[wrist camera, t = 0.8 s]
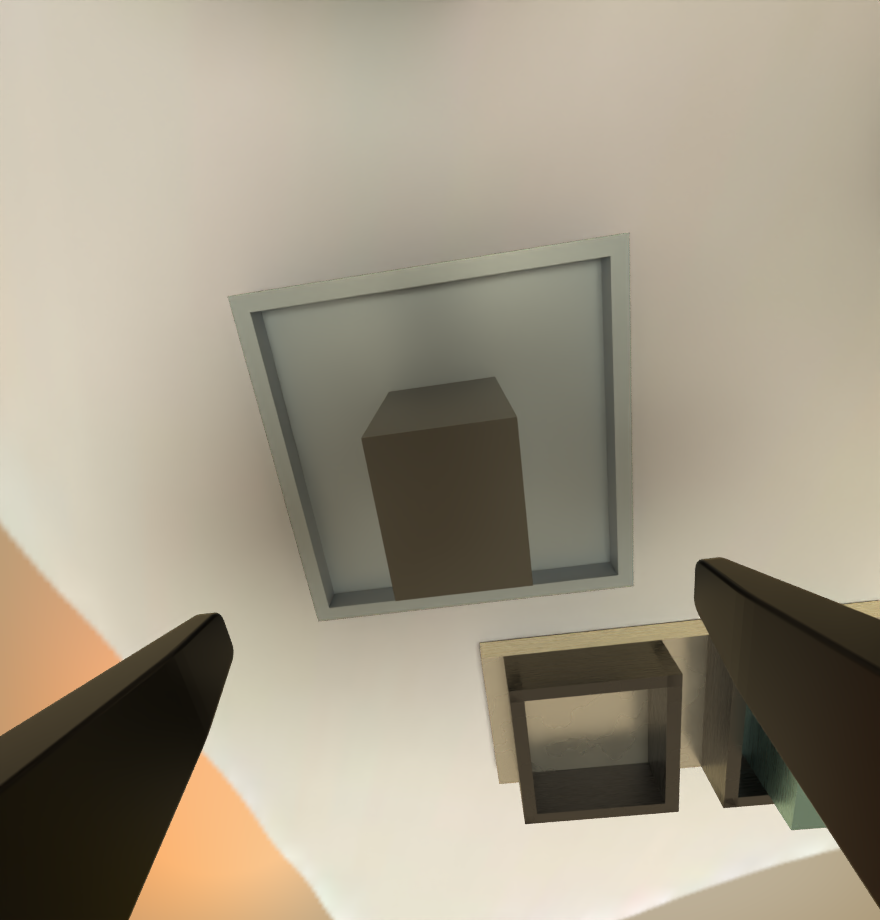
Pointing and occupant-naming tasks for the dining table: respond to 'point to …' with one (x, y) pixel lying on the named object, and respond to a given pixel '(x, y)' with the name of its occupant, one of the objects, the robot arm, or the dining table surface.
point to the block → (449, 489)
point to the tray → (447, 361)
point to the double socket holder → (630, 724)
